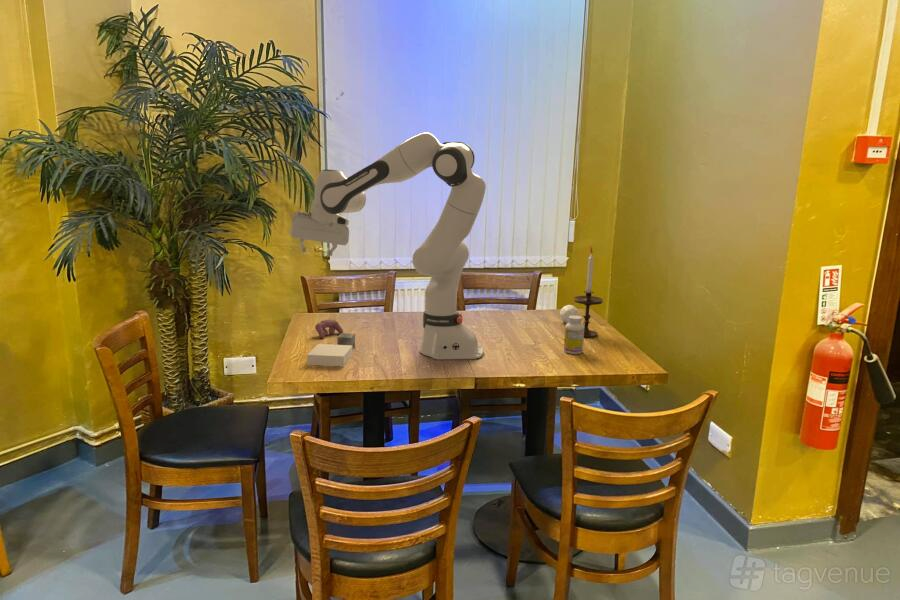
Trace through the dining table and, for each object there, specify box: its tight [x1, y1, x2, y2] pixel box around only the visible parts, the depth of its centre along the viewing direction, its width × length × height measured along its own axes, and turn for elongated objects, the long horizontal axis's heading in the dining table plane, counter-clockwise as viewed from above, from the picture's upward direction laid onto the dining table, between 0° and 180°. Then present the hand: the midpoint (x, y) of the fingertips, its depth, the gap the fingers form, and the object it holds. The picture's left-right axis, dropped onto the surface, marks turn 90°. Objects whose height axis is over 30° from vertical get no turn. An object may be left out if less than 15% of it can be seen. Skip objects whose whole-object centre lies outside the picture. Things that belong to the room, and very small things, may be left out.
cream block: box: [306, 343, 354, 368], centre depth 212 cm, size 12×12×4 cm
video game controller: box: [314, 318, 344, 339], centre depth 241 cm, size 10×5×7 cm, turn 135°
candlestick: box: [573, 246, 603, 339], centre depth 244 cm, size 11×11×35 cm
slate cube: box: [336, 332, 356, 350], centre depth 224 cm, size 5×5×5 cm
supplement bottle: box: [563, 315, 585, 355], centre depth 225 cm, size 7×7×13 cm
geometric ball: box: [559, 304, 580, 324], centre depth 264 cm, size 8×8×8 cm
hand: (316, 253), depth 225 cm, fingers open, 8 cm apart
